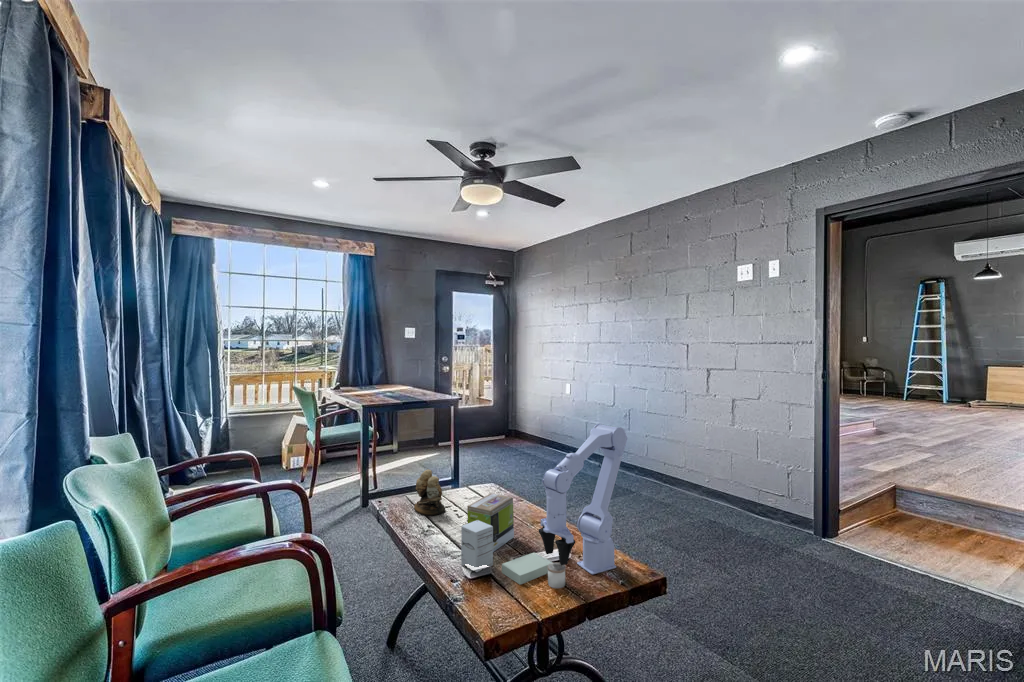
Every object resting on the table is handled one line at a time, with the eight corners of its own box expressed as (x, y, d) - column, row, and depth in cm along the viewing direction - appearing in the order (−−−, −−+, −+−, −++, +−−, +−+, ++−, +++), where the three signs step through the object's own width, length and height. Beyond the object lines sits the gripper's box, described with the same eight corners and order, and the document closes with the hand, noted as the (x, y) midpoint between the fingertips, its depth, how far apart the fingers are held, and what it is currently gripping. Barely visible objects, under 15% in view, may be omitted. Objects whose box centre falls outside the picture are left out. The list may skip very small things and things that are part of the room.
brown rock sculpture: (452, 513, 194) (452, 472, 193) (425, 520, 187) (425, 477, 187) (433, 500, 208) (433, 462, 208) (408, 506, 202) (407, 466, 201)
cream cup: (559, 577, 141) (559, 561, 141) (569, 585, 137) (569, 568, 137) (544, 581, 139) (544, 564, 139) (553, 590, 134) (553, 572, 134)
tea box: (491, 532, 174) (491, 492, 174) (514, 538, 169) (514, 496, 169) (466, 547, 162) (466, 504, 162) (491, 554, 156) (491, 509, 156)
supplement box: (460, 565, 149) (460, 525, 149) (478, 557, 154) (478, 519, 154) (475, 573, 144) (475, 532, 144) (493, 565, 149) (493, 525, 149)
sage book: (533, 561, 152) (533, 552, 152) (553, 572, 145) (553, 562, 145) (501, 573, 144) (501, 563, 144) (520, 586, 137) (520, 575, 137)
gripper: (531, 506, 142) (531, 551, 142) (558, 522, 129) (558, 572, 129) (551, 502, 145) (551, 546, 145) (579, 518, 133) (579, 566, 133)
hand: (556, 558), depth 138 cm, fingers open, 7 cm apart
